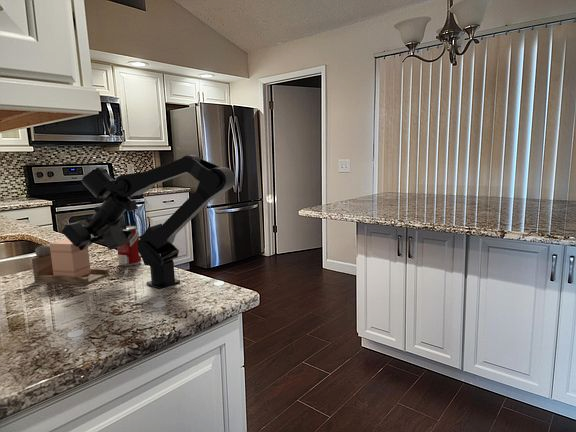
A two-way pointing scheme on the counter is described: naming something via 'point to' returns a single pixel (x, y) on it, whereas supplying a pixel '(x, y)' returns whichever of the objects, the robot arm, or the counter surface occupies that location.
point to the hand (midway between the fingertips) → (80, 249)
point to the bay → (45, 274)
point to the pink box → (69, 259)
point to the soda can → (130, 250)
